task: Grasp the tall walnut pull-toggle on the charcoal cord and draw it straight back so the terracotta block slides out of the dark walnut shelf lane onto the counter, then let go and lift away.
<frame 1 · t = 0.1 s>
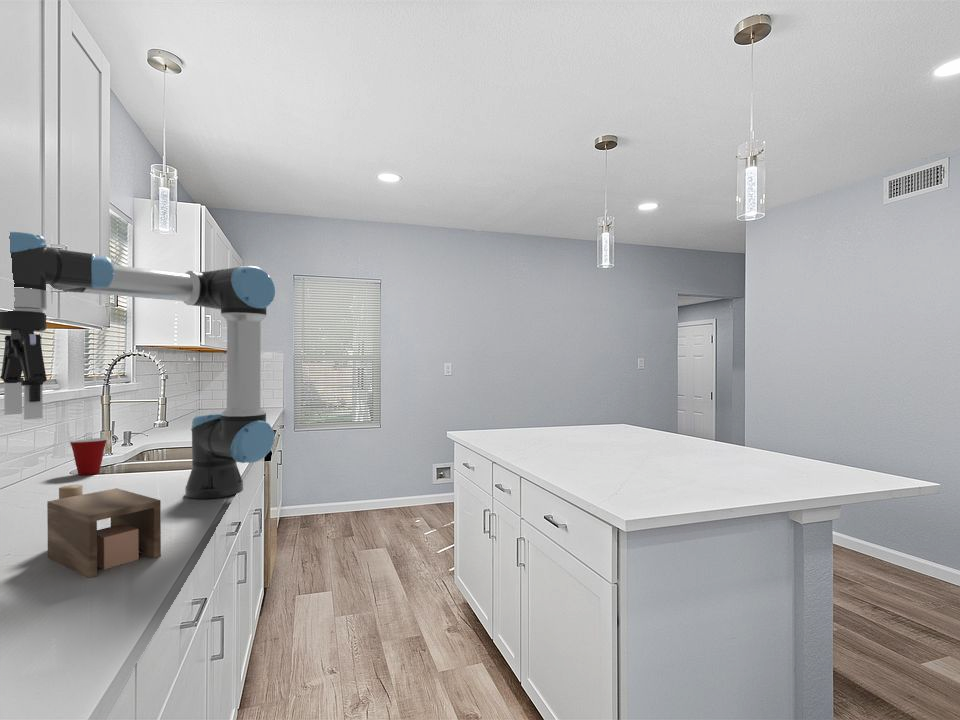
hand: (22, 416, 108), 28 cm above the worktop, fingers open, 13 cm apart
pull block: (114, 561, 105), on the worktop
plastic cup: (88, 474, 182), on the worktop
shelf lane: (104, 556, 107), on the worktop
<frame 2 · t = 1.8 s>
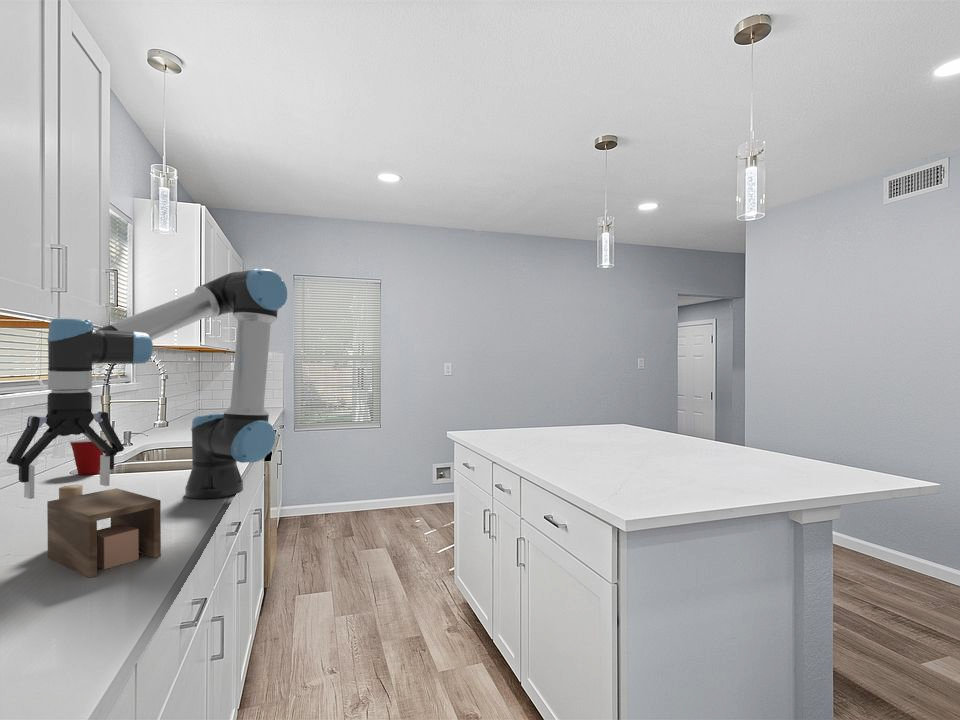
hand: (68, 491, 114), 11 cm above the worktop, fingers open, 13 cm apart
nothing on the worktop moved.
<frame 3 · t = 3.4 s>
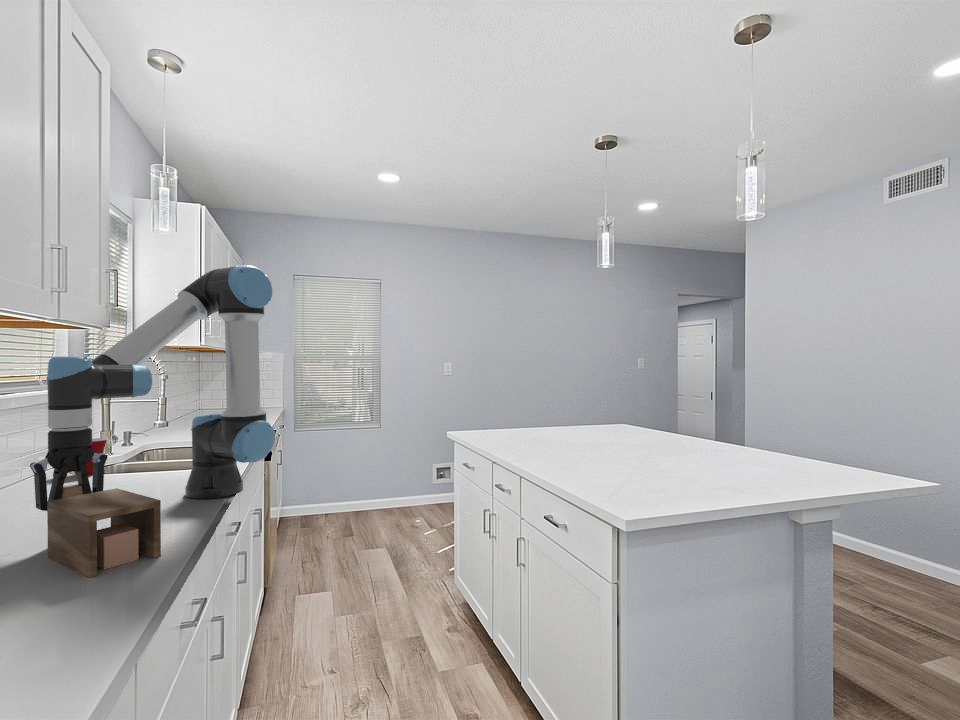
hand: (70, 537, 115), 1 cm above the worktop, fingers closed on pull block, 4 cm apart
pull block: (114, 561, 105), on the worktop, touching gripper
everything else where it was.
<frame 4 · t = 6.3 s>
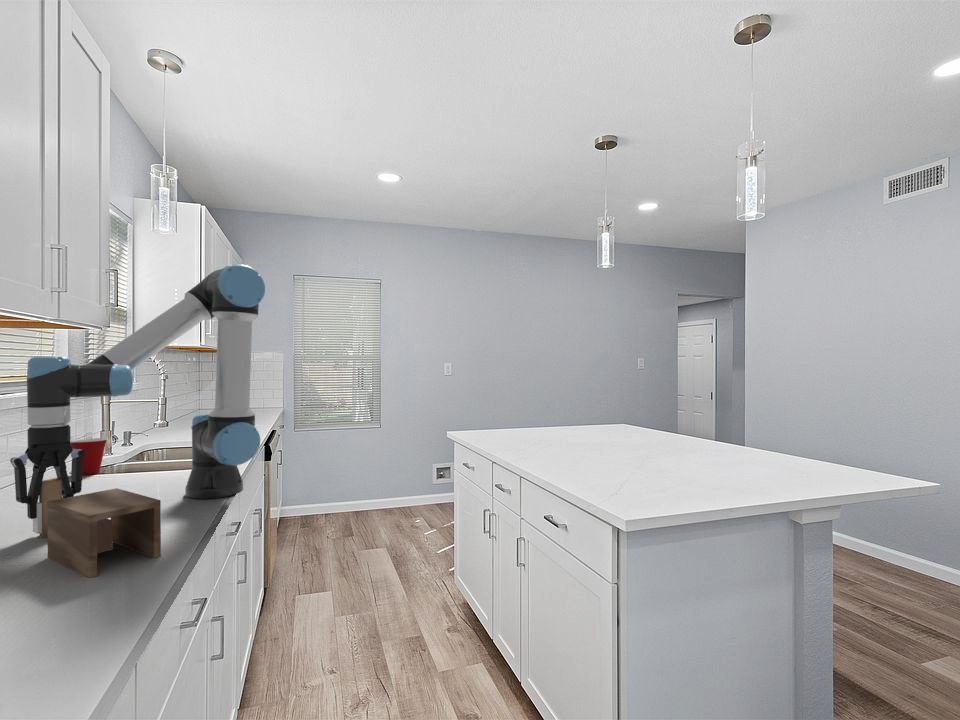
hand: (50, 529, 121), 1 cm above the worktop, fingers closed on pull block, 4 cm apart
pull block: (89, 550, 110), on the worktop, touching gripper
everything else where it was.
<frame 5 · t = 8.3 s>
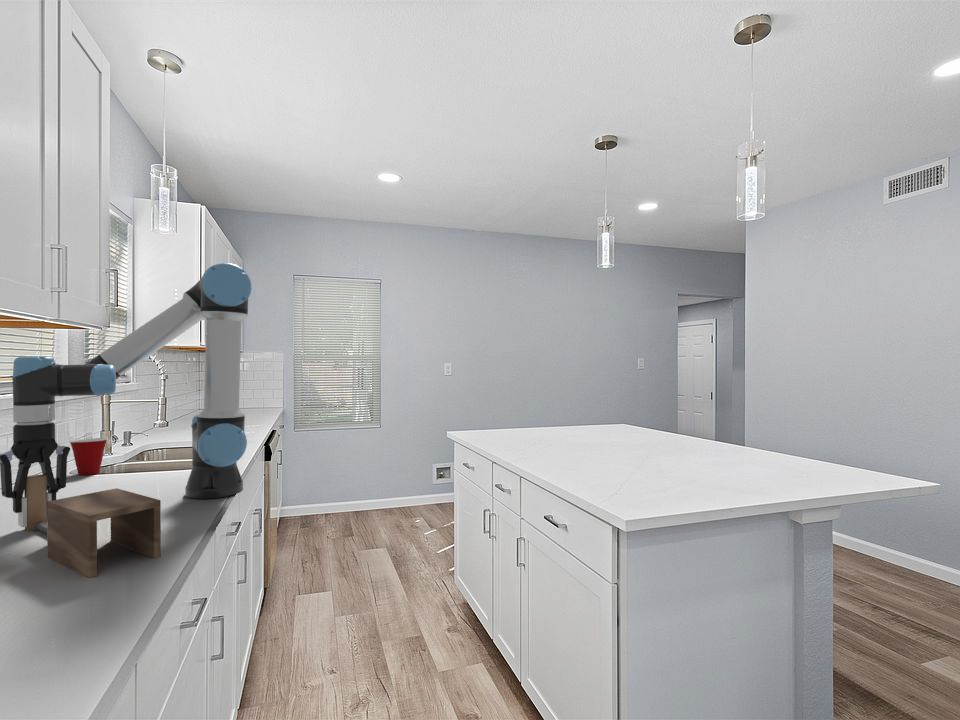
hand: (35, 523, 125), 1 cm above the worktop, fingers closed on pull block, 4 cm apart
pull block: (70, 543, 114), on the worktop, touching gripper
everything else where it was.
when the fingers open (1 cm above the worktop, at t = 9.3 s): pull block stays where it is, on the worktop.
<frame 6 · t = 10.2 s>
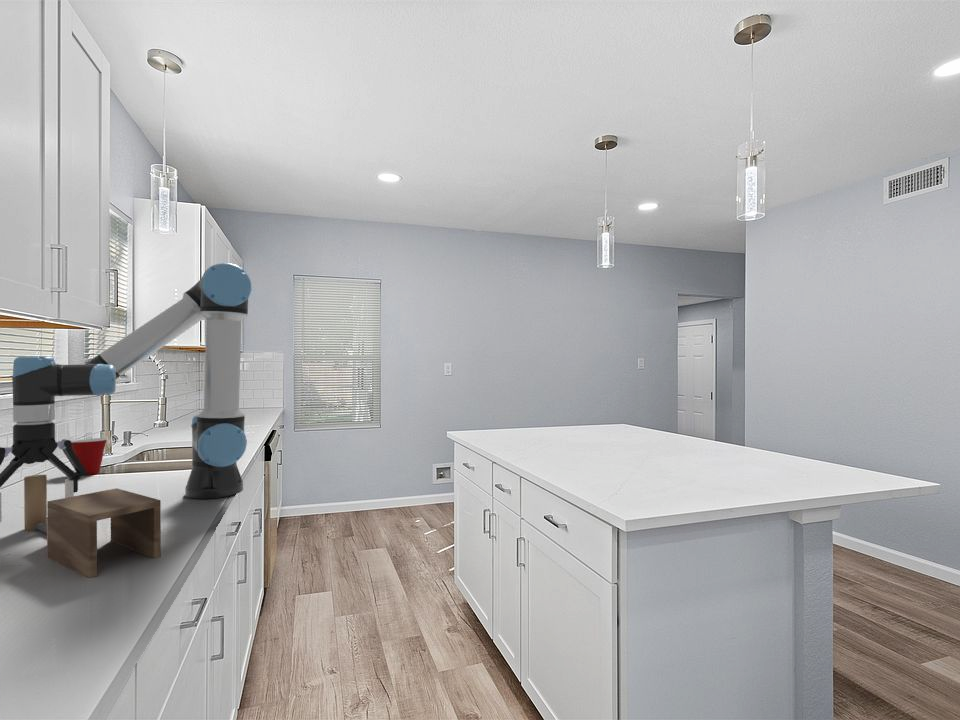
hand: (34, 514, 125), 3 cm above the worktop, fingers open, 13 cm apart
pull block: (69, 543, 114), on the worktop
everything else where it was.
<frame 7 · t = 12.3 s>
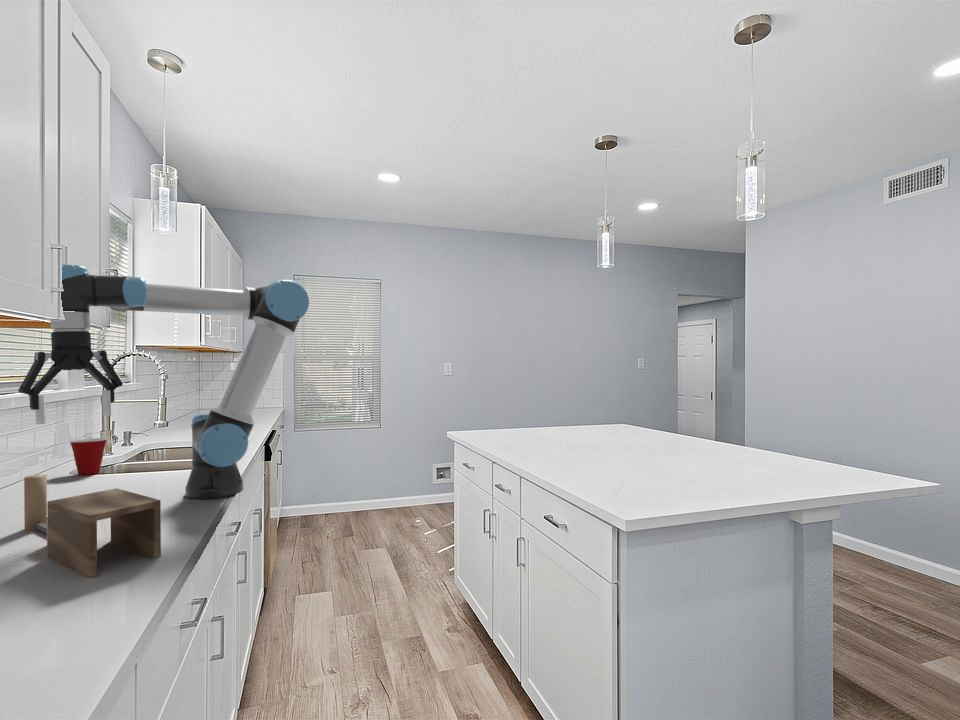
hand: (75, 420, 128), 25 cm above the worktop, fingers open, 13 cm apart
nothing on the worktop moved.
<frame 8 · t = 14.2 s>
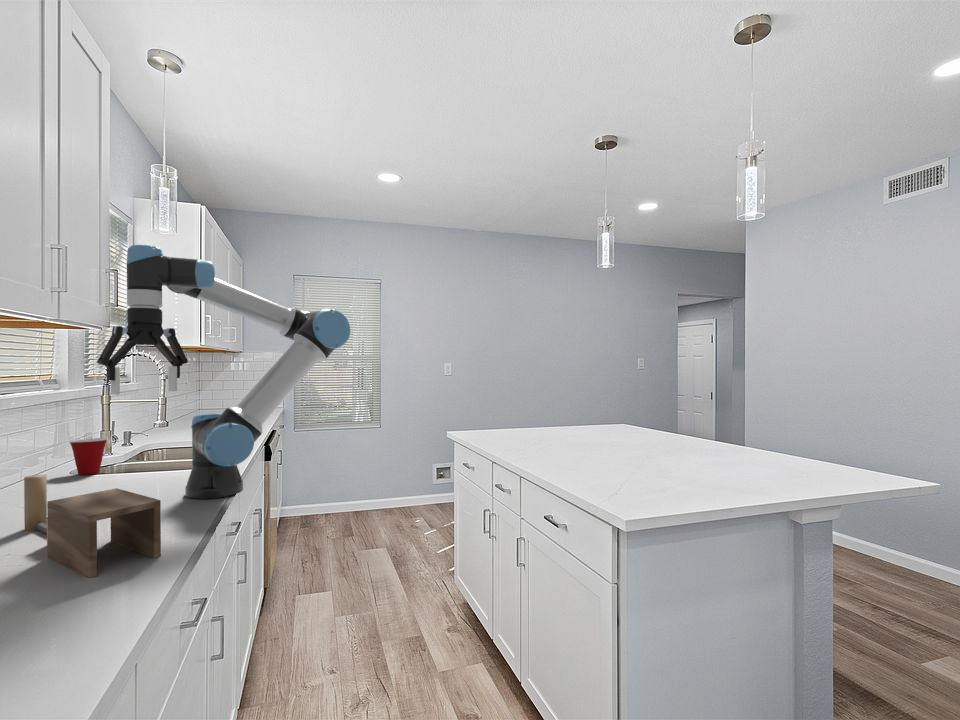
hand: (145, 392, 135), 31 cm above the worktop, fingers open, 13 cm apart
nothing on the worktop moved.
at the end: pull block inside the target area (3.4 cm from its centre), on the worktop; pull block tilted 0°; the gripper is holding nothing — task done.
